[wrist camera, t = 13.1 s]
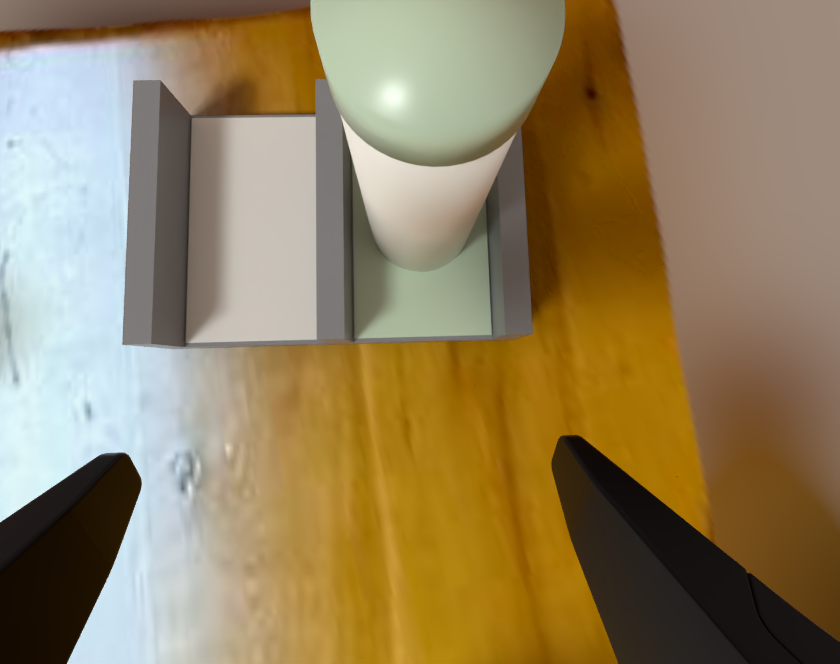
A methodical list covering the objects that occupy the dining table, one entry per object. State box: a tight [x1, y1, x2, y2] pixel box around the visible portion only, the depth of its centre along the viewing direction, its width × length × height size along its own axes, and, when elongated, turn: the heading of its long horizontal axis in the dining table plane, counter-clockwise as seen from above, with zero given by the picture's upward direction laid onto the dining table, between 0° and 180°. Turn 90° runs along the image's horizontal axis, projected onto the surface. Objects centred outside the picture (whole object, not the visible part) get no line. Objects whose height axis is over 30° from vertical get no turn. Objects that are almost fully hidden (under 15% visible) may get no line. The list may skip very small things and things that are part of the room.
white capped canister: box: [311, 0, 565, 272], centre depth 14 cm, size 5×5×12 cm
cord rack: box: [122, 79, 533, 349], centre depth 19 cm, size 12×18×4 cm
